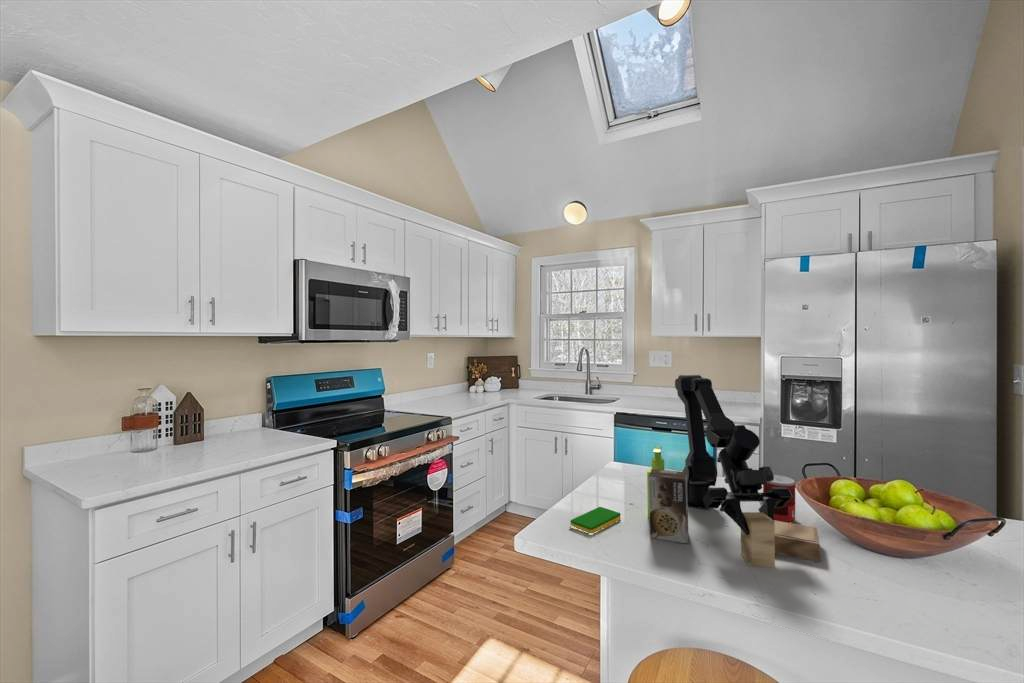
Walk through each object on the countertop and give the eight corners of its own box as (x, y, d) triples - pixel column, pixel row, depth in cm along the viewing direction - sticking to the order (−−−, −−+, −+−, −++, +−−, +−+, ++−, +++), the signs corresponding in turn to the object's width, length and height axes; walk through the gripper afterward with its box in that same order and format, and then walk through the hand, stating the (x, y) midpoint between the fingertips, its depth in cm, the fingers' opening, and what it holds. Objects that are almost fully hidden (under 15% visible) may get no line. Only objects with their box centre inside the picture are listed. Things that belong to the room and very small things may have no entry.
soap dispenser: (646, 521, 123) (645, 449, 123) (648, 512, 130) (647, 443, 129) (668, 524, 121) (668, 451, 121) (670, 514, 127) (669, 445, 127)
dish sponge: (621, 521, 124) (621, 512, 124) (591, 537, 115) (591, 528, 115) (600, 514, 130) (600, 506, 130) (569, 529, 120) (569, 520, 120)
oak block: (741, 555, 104) (740, 512, 104) (762, 555, 104) (762, 512, 103) (752, 566, 99) (751, 521, 99) (774, 566, 99) (774, 521, 98)
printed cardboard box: (689, 533, 115) (688, 471, 115) (687, 544, 109) (686, 479, 109) (652, 528, 119) (651, 467, 119) (648, 538, 113) (648, 474, 113)
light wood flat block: (768, 551, 105) (768, 533, 105) (769, 534, 114) (769, 518, 114) (819, 561, 100) (819, 543, 100) (816, 543, 108) (816, 526, 108)
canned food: (786, 512, 127) (785, 474, 127) (801, 524, 119) (801, 483, 119) (758, 512, 128) (757, 474, 128) (771, 524, 120) (771, 483, 120)
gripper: (707, 453, 105) (729, 519, 94) (787, 453, 104) (819, 519, 94) (695, 476, 113) (714, 539, 102) (769, 475, 112) (796, 539, 102)
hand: (760, 534), depth 100 cm, fingers closed on oak block, 5 cm apart
